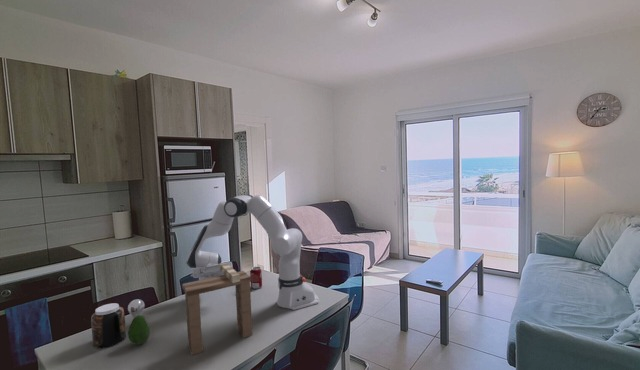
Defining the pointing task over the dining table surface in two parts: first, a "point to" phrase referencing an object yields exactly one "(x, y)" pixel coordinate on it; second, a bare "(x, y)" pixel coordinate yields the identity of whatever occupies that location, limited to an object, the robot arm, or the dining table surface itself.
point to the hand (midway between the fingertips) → (215, 265)
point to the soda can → (256, 277)
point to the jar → (108, 326)
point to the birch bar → (229, 272)
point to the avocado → (138, 330)
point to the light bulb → (136, 308)
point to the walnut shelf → (213, 284)
